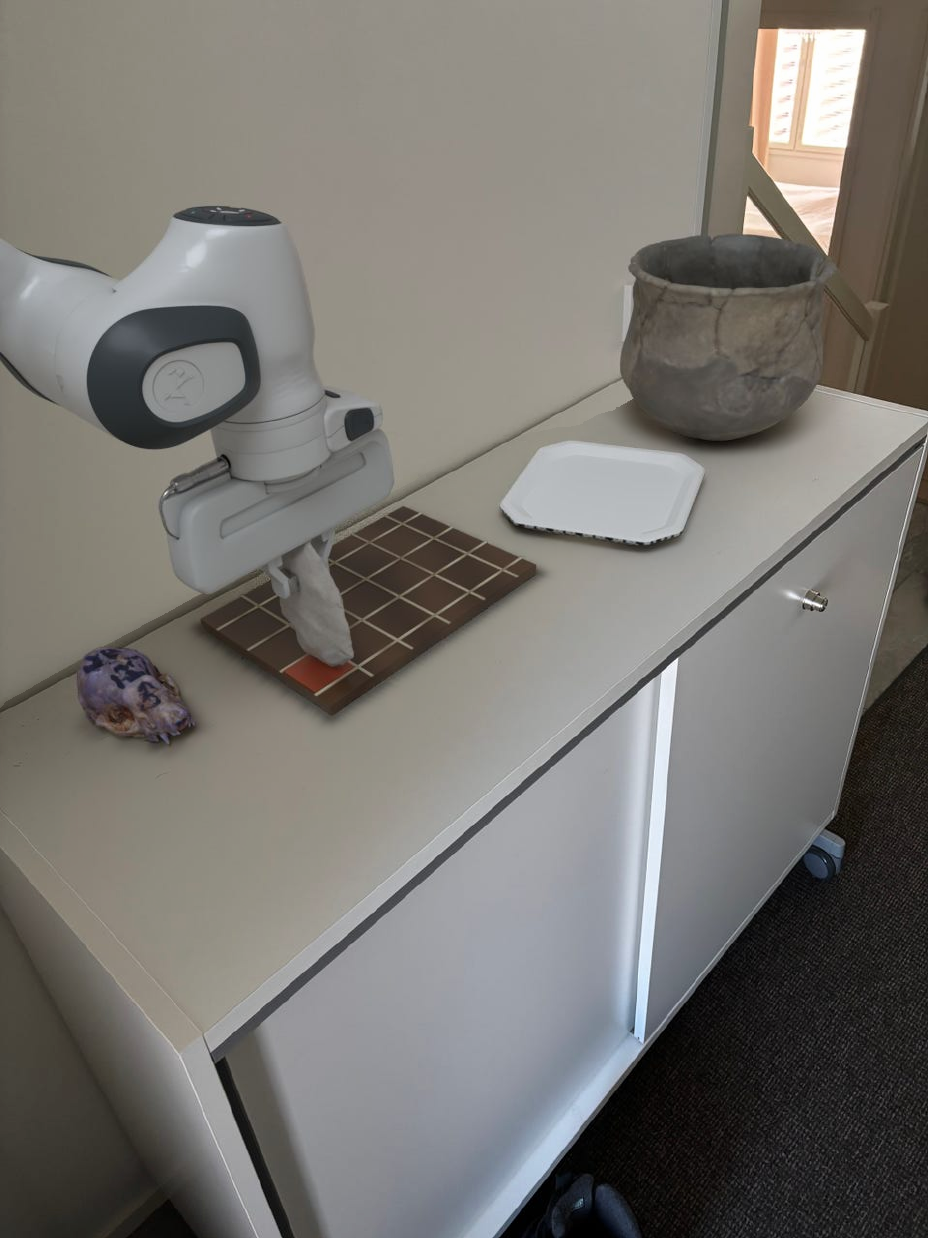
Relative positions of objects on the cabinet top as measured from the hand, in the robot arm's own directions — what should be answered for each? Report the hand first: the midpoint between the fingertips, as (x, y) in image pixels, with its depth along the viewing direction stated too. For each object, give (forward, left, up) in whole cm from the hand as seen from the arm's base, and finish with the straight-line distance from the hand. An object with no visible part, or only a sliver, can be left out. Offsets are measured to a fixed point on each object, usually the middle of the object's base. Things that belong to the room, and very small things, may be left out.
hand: (302, 584), depth 78 cm
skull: (-15, +6, -11) cm, 19 cm away
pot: (+65, +14, -11) cm, 67 cm away
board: (+10, +8, -11) cm, 17 cm away
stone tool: (+1, 0, -9) cm, 9 cm away
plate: (+41, +8, -11) cm, 43 cm away
